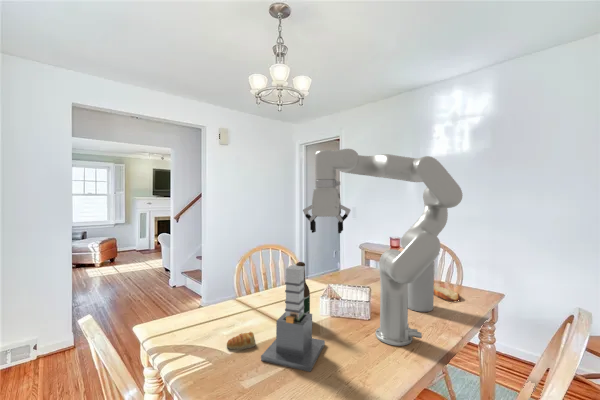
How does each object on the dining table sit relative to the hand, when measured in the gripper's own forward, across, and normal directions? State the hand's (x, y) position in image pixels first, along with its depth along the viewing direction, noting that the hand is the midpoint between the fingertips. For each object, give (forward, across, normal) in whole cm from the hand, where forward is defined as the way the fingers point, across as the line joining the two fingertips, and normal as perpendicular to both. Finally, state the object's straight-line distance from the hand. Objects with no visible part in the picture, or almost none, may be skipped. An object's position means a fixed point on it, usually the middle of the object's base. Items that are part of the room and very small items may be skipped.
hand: (326, 232), depth 102 cm
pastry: (+38, +26, +15) cm, 48 cm away
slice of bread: (+40, -47, -63) cm, 88 cm away
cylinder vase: (+39, -34, -41) cm, 66 cm away
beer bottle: (+38, +14, -9) cm, 41 cm away
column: (+28, +8, +13) cm, 32 cm away
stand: (+38, +8, +14) cm, 41 cm away
